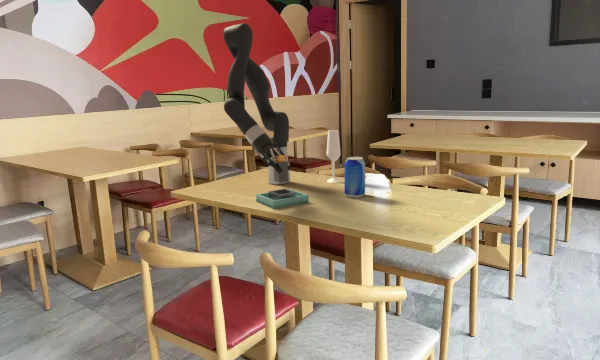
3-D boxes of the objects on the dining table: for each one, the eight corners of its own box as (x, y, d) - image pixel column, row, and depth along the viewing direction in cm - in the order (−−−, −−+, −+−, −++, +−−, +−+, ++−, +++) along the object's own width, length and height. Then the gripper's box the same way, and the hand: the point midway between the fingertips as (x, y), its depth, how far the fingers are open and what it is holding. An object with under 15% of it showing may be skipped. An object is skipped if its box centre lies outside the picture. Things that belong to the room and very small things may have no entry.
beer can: (341, 197, 201) (341, 159, 198) (349, 192, 208) (349, 155, 205) (360, 199, 197) (360, 160, 194) (367, 194, 204) (368, 156, 201)
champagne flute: (339, 183, 227) (339, 131, 222) (325, 182, 228) (325, 131, 223) (341, 180, 233) (341, 129, 228) (327, 179, 235) (327, 129, 230)
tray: (290, 195, 206) (289, 188, 205) (308, 202, 194) (308, 195, 193) (256, 201, 197) (256, 194, 196) (273, 209, 186) (273, 201, 185)
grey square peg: (282, 179, 196) (282, 154, 194) (288, 181, 193) (287, 156, 191) (274, 180, 194) (273, 155, 192) (279, 182, 191) (278, 157, 189)
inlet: (285, 195, 201) (285, 188, 200) (296, 199, 194) (295, 192, 194) (268, 198, 197) (268, 191, 196) (278, 202, 190) (278, 195, 189)
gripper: (254, 134, 187) (281, 167, 184) (273, 131, 199) (299, 162, 196) (243, 147, 191) (269, 180, 187) (263, 143, 203) (288, 174, 200)
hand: (284, 170), depth 192 cm, fingers closed on grey square peg, 5 cm apart
